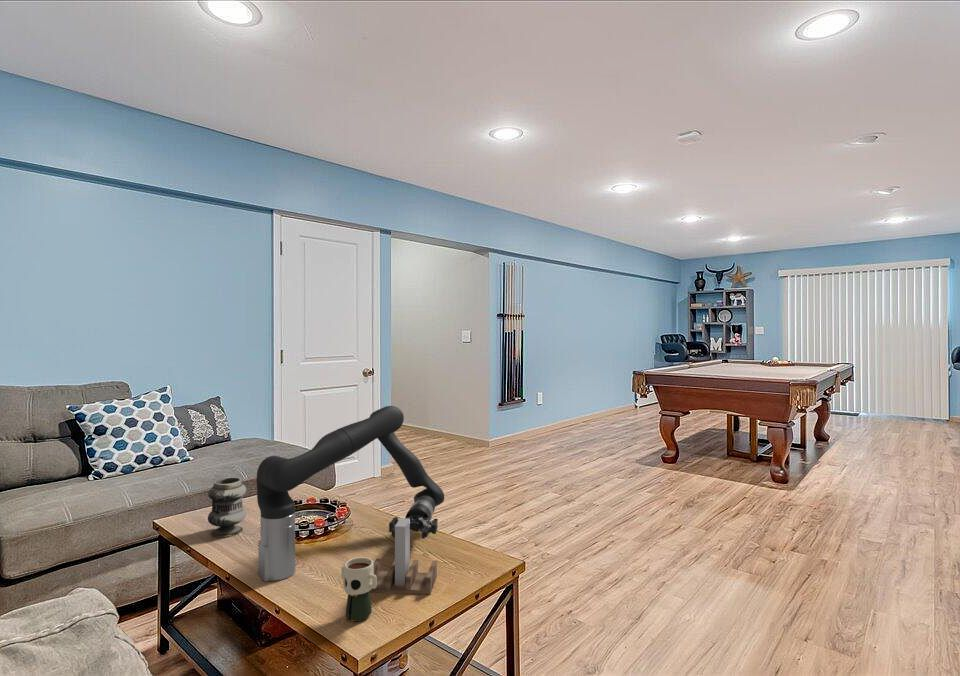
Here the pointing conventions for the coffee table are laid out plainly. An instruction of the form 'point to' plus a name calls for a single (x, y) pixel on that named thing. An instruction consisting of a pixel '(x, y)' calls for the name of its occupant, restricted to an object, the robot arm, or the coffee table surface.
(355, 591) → the character mug
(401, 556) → the clay strip
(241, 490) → the grey stone urn vase
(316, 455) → the robot arm
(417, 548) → the coffee table surface
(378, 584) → the drying rack
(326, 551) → the coffee table surface
